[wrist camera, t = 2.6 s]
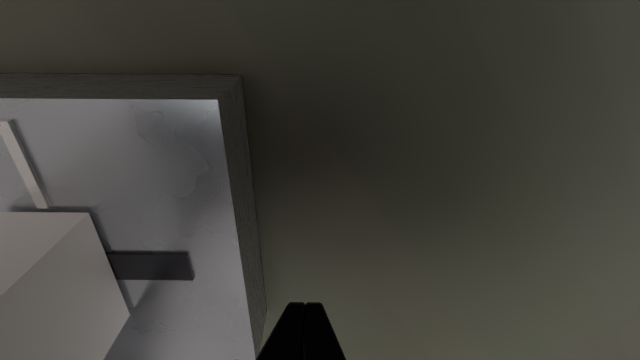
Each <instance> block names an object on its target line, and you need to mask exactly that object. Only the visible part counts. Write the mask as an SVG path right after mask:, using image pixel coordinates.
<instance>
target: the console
mask: <svg viewBox="0 0 640 360" xmlns="http://www.w3.org/2000/svg"><path fill="white" fill-rule="evenodd" d="M0 212H71V213H89V214H90V217H91V219H92V222H93V224H94V227H95V229H96V232H97V234H98V237H99V239H100V242H101V244H102V247H103V249H104V252H105V254H106V256H107V259H108V261H109V264H110V266H111V269H112V271H113V274H114V276H115V279H116V281H117V284H118V286H119V289H120V291H121V293H122V296H123V298H124V301H125V303H126V306H127V308H128V311H129V313H130V316H129V317H128V319H127V321H126V322H125V324H124V326H123V327H122V329H121V331H120V333H119V334H118V336H117V338H116V339H115V341H114V343H113V344H112V346H111V348H110V349H109V351H108V353H107V354H106V356H105V358H104V359H103V360H256V358H257V356H258V355H259V352H260V346H261V340H262V335H263V329H264V324H265V318H266V312H267V309H266V300H265V290H264V281H263V272H262V263H261V253H260V244H259V235H258V226H257V216H256V207H255V198H254V189H253V179H252V170H251V161H250V152H249V142H248V133H247V124H246V115H245V106H244V96H243V87H242V78H241V75H142V74H0Z"/></svg>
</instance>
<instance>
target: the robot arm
mask: <svg viewBox="0 0 640 360" xmlns="http://www.w3.org/2000/svg"><path fill="white" fill-rule="evenodd" d="M256 360H346V358H345V356H344V354H343V351H342V349H341V347H340V344H339V342H338V340H337V337H336V335H335V333H334V330H333V328H332V326H331V323H330V321H329V319H328V316H327V314H326V312H325V309H324V307H323V305H322V304H321V303H319V302H308V303H306V305H305V304H304V303H303V302H290V303H289V304H288V305H287V306H286V308H285V310H284V312H283V313H282V315H281V317H280V318H279V320H278V322H277V324H276V325H275V327H274V329H273V330H272V332H271V334H270V336H269V337H268V339H267V341H266V342H265V344H264V346H263V348H262V349H261V351H260V353H259V355H258V356H257V358H256Z"/></svg>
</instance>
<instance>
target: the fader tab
mask: <svg viewBox="0 0 640 360" xmlns="http://www.w3.org/2000/svg"><path fill="white" fill-rule="evenodd" d="M129 316H130V313H129V311H128V308H127V306H126V303H125V301H124V298H123V296H122V293H121V291H120V289H119V286H118V284H117V281H116V279H115V276H114V274H113V271H112V269H111V266H110V264H109V261H108V259H107V256H106V254H105V252H104V249H103V247H102V244H101V242H100V239H99V237H98V234H97V232H96V229H95V227H94V224H93V222H92V219H91V217H90V214H89V213H71V212H0V360H103V359H104V358H105V356H106V354H107V353H108V351H109V349H110V348H111V346H112V344H113V343H114V341H115V339H116V338H117V336H118V334H119V333H120V331H121V329H122V327H123V326H124V324H125V322H126V321H127V319H128V317H129Z"/></svg>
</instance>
